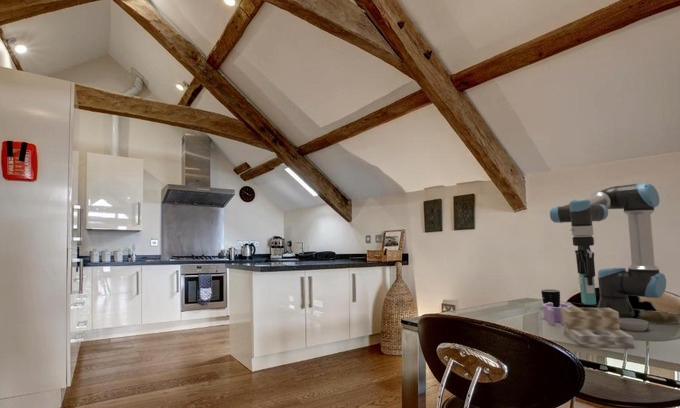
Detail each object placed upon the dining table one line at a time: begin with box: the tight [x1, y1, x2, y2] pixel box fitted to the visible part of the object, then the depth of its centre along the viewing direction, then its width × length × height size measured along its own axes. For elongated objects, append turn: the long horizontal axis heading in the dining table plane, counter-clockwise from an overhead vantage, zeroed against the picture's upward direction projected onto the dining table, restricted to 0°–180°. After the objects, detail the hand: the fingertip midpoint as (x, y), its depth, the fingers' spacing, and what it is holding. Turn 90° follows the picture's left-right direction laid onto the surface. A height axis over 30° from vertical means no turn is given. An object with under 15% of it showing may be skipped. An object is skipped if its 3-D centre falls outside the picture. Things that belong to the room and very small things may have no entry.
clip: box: [542, 302, 573, 327], centre depth 183 cm, size 20×12×7 cm, turn 150°
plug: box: [577, 273, 597, 305], centre depth 157 cm, size 5×4×12 cm
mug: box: [541, 288, 561, 307], centre depth 206 cm, size 12×9×10 cm
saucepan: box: [619, 317, 650, 332], centre depth 164 cm, size 11×18×4 cm, turn 92°
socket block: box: [562, 307, 635, 349], centre depth 151 cm, size 18×18×11 cm
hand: (587, 292), depth 157 cm, fingers closed on plug, 4 cm apart
